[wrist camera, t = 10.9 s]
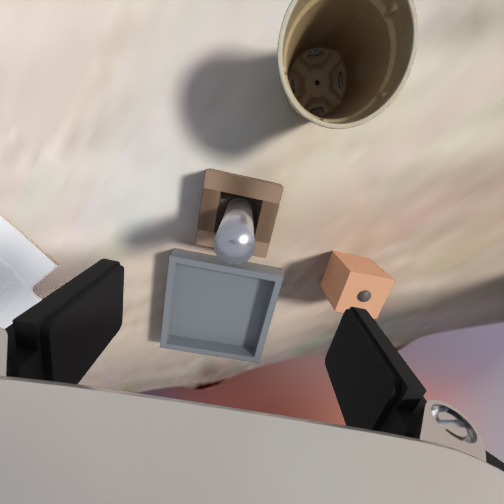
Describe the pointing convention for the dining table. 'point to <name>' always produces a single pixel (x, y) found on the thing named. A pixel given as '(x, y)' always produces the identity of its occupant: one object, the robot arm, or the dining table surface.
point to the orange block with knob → (355, 283)
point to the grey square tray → (218, 305)
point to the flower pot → (346, 57)
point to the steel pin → (236, 233)
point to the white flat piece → (19, 273)
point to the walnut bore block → (243, 187)
